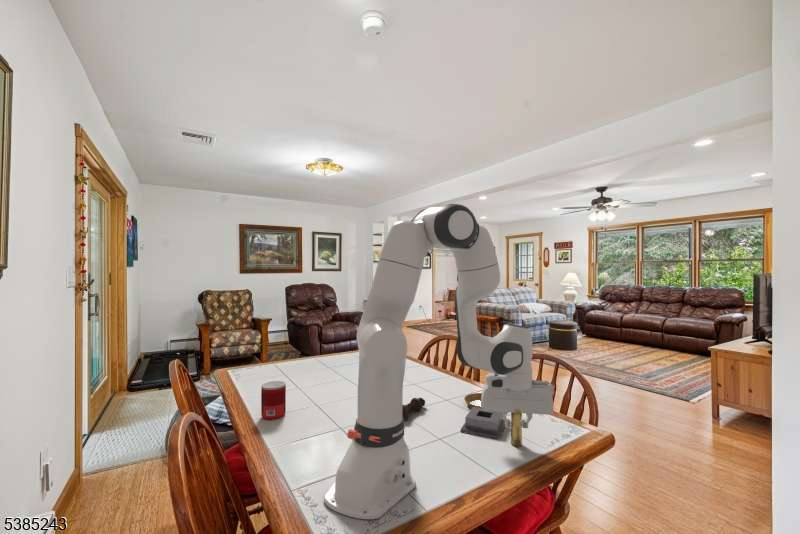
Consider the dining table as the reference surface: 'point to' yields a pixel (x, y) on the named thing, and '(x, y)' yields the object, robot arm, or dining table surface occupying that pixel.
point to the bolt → (412, 407)
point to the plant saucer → (473, 399)
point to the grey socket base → (484, 423)
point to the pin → (516, 428)
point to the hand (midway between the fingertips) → (516, 426)
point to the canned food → (273, 400)
